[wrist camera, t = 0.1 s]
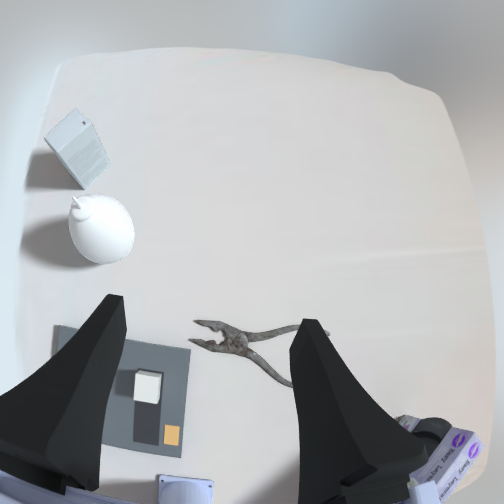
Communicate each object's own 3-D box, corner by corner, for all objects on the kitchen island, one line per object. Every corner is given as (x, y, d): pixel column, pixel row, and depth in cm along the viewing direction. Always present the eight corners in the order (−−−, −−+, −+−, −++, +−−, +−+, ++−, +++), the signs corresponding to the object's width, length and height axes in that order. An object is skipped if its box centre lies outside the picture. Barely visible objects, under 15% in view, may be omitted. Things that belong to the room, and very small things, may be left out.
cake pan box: (407, 407, 46) (481, 427, 29) (420, 422, 46) (491, 443, 29) (329, 489, 41) (382, 542, 24) (345, 502, 40) (399, 551, 23)
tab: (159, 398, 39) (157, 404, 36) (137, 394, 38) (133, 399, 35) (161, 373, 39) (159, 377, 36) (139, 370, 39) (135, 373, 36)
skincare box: (96, 149, 46) (76, 106, 35) (112, 164, 46) (93, 121, 35) (69, 175, 44) (42, 137, 33) (84, 191, 44) (57, 154, 33)
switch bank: (181, 454, 39) (181, 458, 37) (58, 427, 36) (54, 430, 34) (190, 349, 42) (190, 350, 41) (63, 325, 40) (59, 325, 38)
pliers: (327, 389, 44) (188, 387, 41) (325, 388, 45) (189, 386, 42) (331, 325, 46) (192, 318, 43) (328, 325, 47) (192, 318, 44)
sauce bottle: (84, 227, 43) (34, 176, 26) (132, 210, 45) (103, 149, 28) (97, 277, 42) (44, 249, 25) (147, 260, 44) (119, 221, 27)
